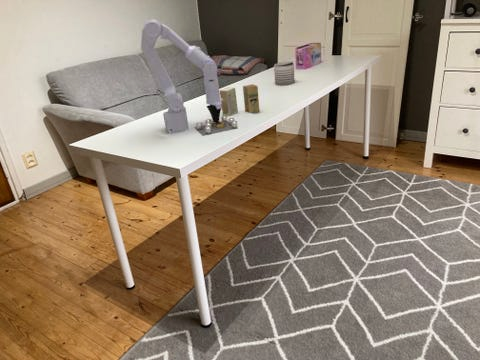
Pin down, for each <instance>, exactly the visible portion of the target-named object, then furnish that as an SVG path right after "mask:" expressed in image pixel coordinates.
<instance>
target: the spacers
mask: <svg viewBox="0 0 480 360" xmlns="http://www.w3.org/2000/svg"><path fill="white" fill-rule="evenodd" d="M220 119H221V122H222V121H223V122H225V123H227V120H228V121H229V125H230V126H232V129H233V130H237V129H236V128H238V127H239V126H238V121H237V120H235V118H234V117H231V118H228V116H225V115H221V116H220ZM204 121H205V125H206V127H205V132H206V134H210V135H212V134H211V133H212V131H211V130H212V124H213V123H212V118H211V119H210V118H207V119H205V120H204ZM195 125H196V127H197V130H202V129H203V122H196V124H195ZM238 129H239V128H238ZM197 130H196V131H197Z"/></svg>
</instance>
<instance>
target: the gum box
mask: <svg viewBox="0 0 480 360" xmlns="http://www.w3.org/2000/svg"><path fill="white" fill-rule="evenodd" d="M294 50H295V69H296V70H306V69H309V68H313V67H315V66H317V65H320V64H321V63H322V43H321V42H311V43H306V44H304V45H301V46H298V47H295V49H294Z"/></svg>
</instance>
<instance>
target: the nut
mask: <svg viewBox="0 0 480 360" xmlns="http://www.w3.org/2000/svg"><path fill="white" fill-rule="evenodd" d="M214 126H215V128H217V129H219V128H224V127H225V126H226V123H225V122H223V121H222V120H221V121H219V122H216V123H215V124H214Z"/></svg>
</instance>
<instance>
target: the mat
mask: <svg viewBox="0 0 480 360" xmlns="http://www.w3.org/2000/svg"><path fill="white" fill-rule="evenodd" d="M214 124H215V123H214V122H213V123H212V130H211V131H212V133H211V134H206V132H205V127H206V125H203V124H202V126H203V129H202V130H197V126H194V127H193V128H194V129H195V130H196V131H197V132H198V133H199V134H200V135H201V136H202V137H206V136H209V135H210V136H211V135H214V134H219V133H222V132H228V131H233V130H234V129H232V126H230V125H229V120H228V119H227V123H226V126H225V127H224V128H219V129H217V128H215V126H214ZM238 129H239V128H236V129H235V130H238Z"/></svg>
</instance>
